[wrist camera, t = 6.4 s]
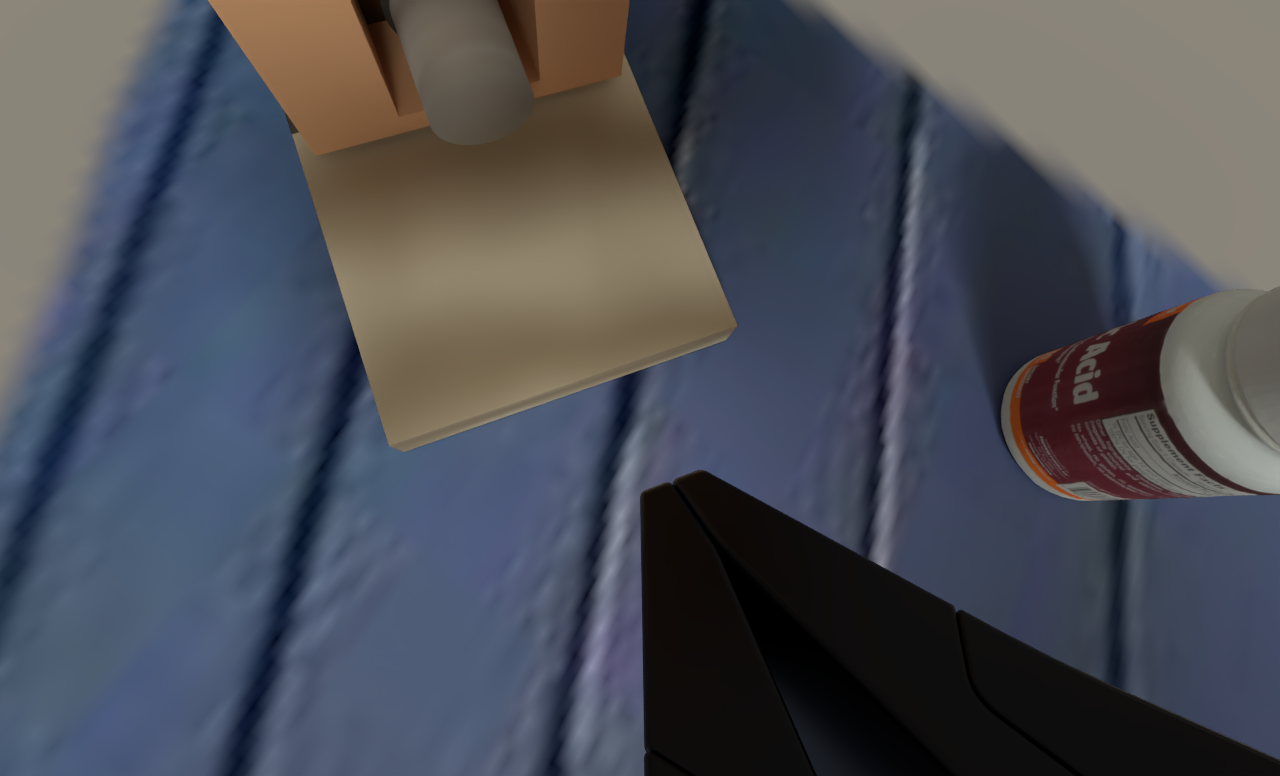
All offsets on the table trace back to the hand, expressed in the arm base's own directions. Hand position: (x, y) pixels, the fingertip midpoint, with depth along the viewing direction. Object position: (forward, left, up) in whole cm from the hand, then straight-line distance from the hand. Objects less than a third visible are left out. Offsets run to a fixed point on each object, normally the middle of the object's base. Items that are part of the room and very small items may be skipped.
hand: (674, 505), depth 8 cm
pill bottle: (-10, -10, -11) cm, 18 cm away
